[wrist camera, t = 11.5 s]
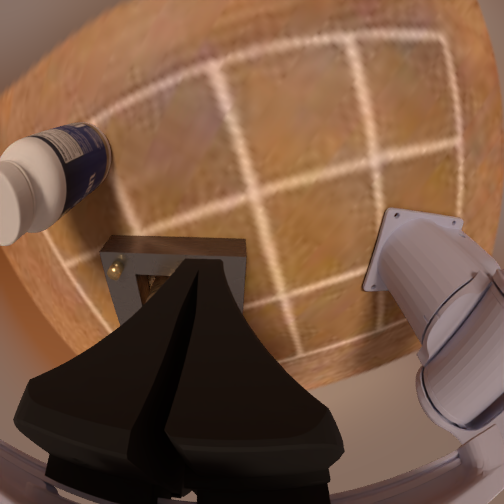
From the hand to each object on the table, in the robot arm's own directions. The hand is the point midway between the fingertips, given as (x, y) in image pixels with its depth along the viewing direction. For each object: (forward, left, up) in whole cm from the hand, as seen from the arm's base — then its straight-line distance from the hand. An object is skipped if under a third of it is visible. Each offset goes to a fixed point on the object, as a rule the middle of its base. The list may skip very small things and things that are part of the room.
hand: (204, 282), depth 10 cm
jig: (+3, +8, -10) cm, 14 cm away
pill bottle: (+10, -3, -11) cm, 15 cm away
